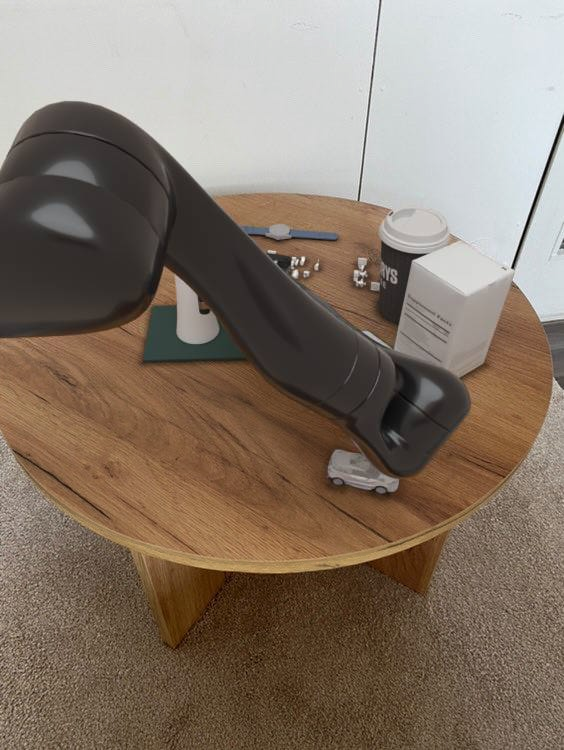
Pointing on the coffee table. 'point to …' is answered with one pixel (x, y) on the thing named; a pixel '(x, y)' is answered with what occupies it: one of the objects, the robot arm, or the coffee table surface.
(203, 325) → the cosmetic bottle
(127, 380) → the coffee table surface
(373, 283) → the miniature furniture
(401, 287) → the coffee cup
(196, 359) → the mat
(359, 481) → the toy car
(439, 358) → the white product box
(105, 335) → the coffee table surface
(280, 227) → the wristwatch
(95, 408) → the coffee table surface
